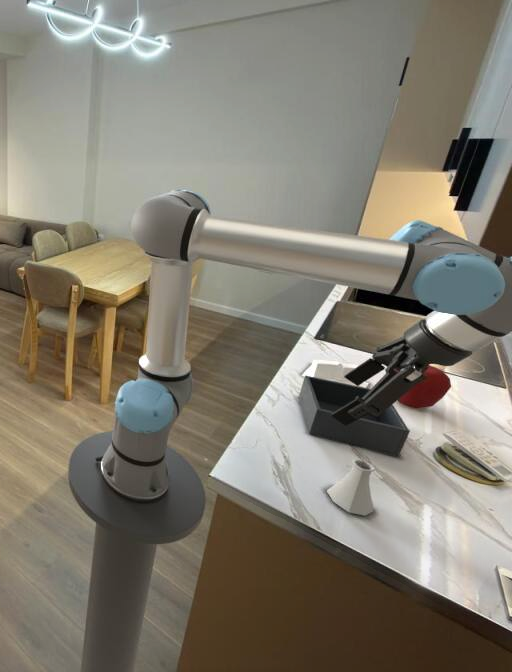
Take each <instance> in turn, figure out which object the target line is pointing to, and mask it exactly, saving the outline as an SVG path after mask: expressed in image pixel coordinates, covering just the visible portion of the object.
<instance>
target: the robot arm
mask: <svg viewBox="0 0 512 672" xmlns="http://www.w3.org/2000/svg"><path fill="white" fill-rule="evenodd" d="M130 225H131V231H130V232H131V235H132V238H133V239H134V241H135V243H136V245H138V246H139V248H140V249H142V250H143V251H144V255H145V256H146V257H147V258H148V259H149V260H150V261H151V264H150V278H149V279H150V280H149V281H150V282H149V297H148V311H147V312H148V313H147V329H146V330H147V331H146V348H145V353H144V354H143V355H141V356H140V357H139V359H138V371H137V372H138V373H137V379H136V380H133V379H131V380H129V381H126V382H125V383H123V384H122V385H121V386H120V388H119V390H118V391H117V395H116V398H115V402H114V415H113V416H114V417H113V418H114V419H113V427H112V431H113V435H112V443H111V444H110V446H109V448H108V449H107V451H106V453H105V455H104V456H100V457H96V461H102V462H101V475H102V478H103V480H104V482H105V483H106V485H107V486H108V487H109V488H110V489H111V490H112V491H113V492H114V493H116V494H117V495H119V496H120V497H122V498H124V499H127V500H129V501H133V502H137V503H152V502H155V501H158V500H160V499H161V498H163V497H164V496H165V495H166V493H167V491H168V487H169V481H170V478H169V473H168V464H166V460H165V452H166V446H168V440H169V436H170V432H171V430H172V428H173V426H174V424H175V423H176V421H177V419H178V418H179V416H180V414H181V413H182V412H183V409H184V407H185V406H186V404H187V403H189V401H190V399H191V397H192V394H193V390H194V378H193V375H192V373H191V372H192V371H191V370H192V369H191V368H192V367H191V364H190V362H189V361H188V360H187V359H186V358H185V355H186V349H187V348H186V346H187V338H188V337H187V336H188V325H189V315H190V303H191V292H192V281H193V271H194V263H195V262H196V261H198V260H199V259H202V260H206V261H211V262H216V263H217V262H218V263H221V264H228V265H233V266H239V267H244V268H249V269H253V270H260V271H264V272H269V273H275V274H280V275H286V276H290V277H295V278H300V279H305V280H311V281H316V282H321V283H327V284H332V285H337V286H343V287H349V288H353V289H359V290H364V291H369V292H375V293H379V294H385V295H389V296H395V297H400V298H404V299H410V300H414V301H418V302H419V303H420V304H421V305H423V306H425V307H427V308H428V309H431V310H433V311H431V312H430V313H428V314H427V315H426V317H425V318H424V319H420V320H419V321H417V322H416V323H414V324H413V325H412V326H410V327H409V328H407V329H405V331H404V332H403V336H400V337H399V338H396V339H394V340H392V341H390V342H386V343H385V344H382V345H379V346H378V347H376V349H375V353H373V354H372V355H371V357H370V358H368V359H367V360H365V361H364V362H362V363H361V364H359V365H357V366H358V367H356V368H355V369H353V370H352V371H350V372H349V373H347V374H346V375H345V376H344V378H346V379H348V380H349V381H351V382H352V383H354V384H355V385H357V386H359V385H360V384H362V383H363V382H366V381H369V380H370V379H372V378H373V377H374V376H377V374H379V373H381V372H383V371H385V374H384V375H383V376H382V377H381V378H380V379H379V380H378V381H377V382H376V383H375V384H374V385H373V386H372V387H371V388H369V389H370V390H369V391H368V392H367V393H366V395H365V396H364V397H363V398H361V397H357V396H356V397H355V400H353V401H352V402H350V403H348V404H347V405H345V406H343V407H342V408H340V409H338V410H337V411H335V412H333V413H332V414H331V416H332V417H333V418H335V419H336V420H338V421H339V422H341V423H342V424H343V425H345V426H347V425H349V424H351V423H353V422H354V421H356V420H358V419H360V418H362V417H363V416H365V415H367V414H369V413H370V412H371V413H372V414H374V415H375V416H379V415H381V414H382V413H383V412H384V411H385V410H386V409H388V408H389V407H390V406H391V405H392V404H393V405H394V404H395V403H396V402H398V401H397V400H398V399H400V398H401V397H402V396H403V395H404V394H406V393H407V392H408V391H409V390H410V389H412V388H413V387H414V386H416V385H417V384H419V383H420V382H422V381H424V380H425V379H426V378H427V375H425V374H423V372H424V371H425V370H426V369H427V368H428V366H429V365H437V366H442V367H452V366H454V365H456V364H458V363H460V362H462V361H463V360H465V359H467V358H468V357H469V358H470V357H471V356H472V355H473V352H479V351H480V350H482V349H484V348H486V347H487V346H489V345H491V344H493V343H495V344H499V343H501V342H502V341H503V337H505V336H508V335H509V334H511V333H512V256H510V257H507V256H504V255H502V254H498V253H497V252H493V251H490V250H488V249H486V248H484V247H482V246H480V245H478V244H476V243H473V242H472V241H469V240H468V239H465V238H463V237H462V236H458V235H456V234H454V233H452V232H450V231H448V230H445V229H444V227H441V226H436V225H433V224H431V223H428V222H426V221H423V220H417V219H416V220H412V221H410V222H408V223H406V224H405V225H403V226H401V228H400V229H398V230H397V231H396V232H395V233H394V234H392V236H391V237H390V238H389V239H386V238H380V237H373V236H363V235H358V234H357V235H355V234H348V233H341V232H334V231H328V230H327V231H325V230H320V229H312V228H311V229H310V228H304V227H296V226H289V225H281V224H274V223H266V222H259V221H250V220H243V219H236V218H228V217H222V216H215V215H212V212H211V208H210V205H209V203H208V201H206V199H205V198H204V197H203V196H202V195H200V194H199V193H197V192H195V191H191V190H188V189H187V190H185V189H175V190H171V191H167V192H165V193H163V194H160V195H156V196H153V197H151V198H148V199H147V200H145V201H144V202H143V203H142V204H140V205H139V206H138V207H137V209H136V210H135V212H134V213H133V216H132V219H131V223H130ZM394 369H395V370H396V371H398V372H399V373H398V372H396V371H395V370H394Z"/></svg>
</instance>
